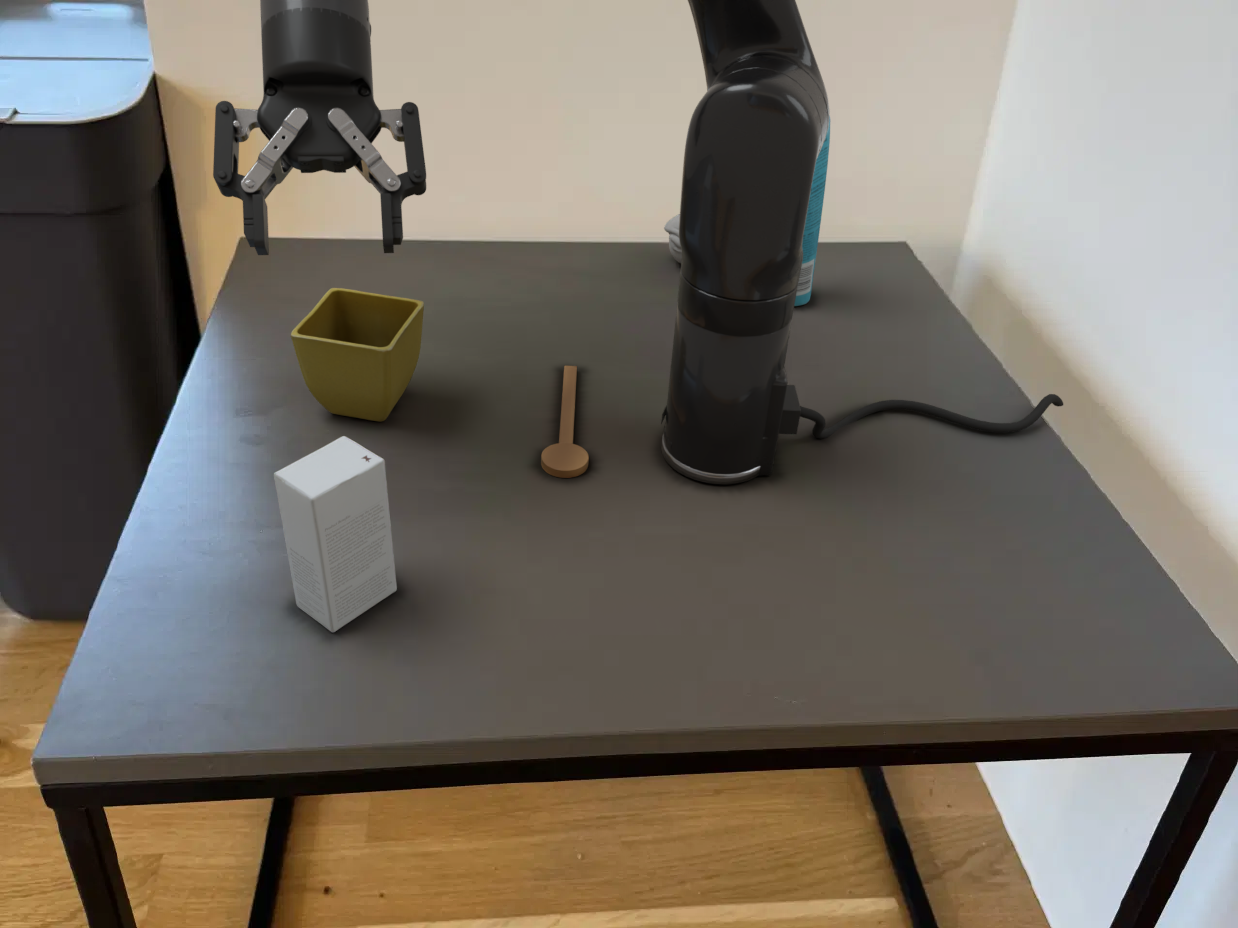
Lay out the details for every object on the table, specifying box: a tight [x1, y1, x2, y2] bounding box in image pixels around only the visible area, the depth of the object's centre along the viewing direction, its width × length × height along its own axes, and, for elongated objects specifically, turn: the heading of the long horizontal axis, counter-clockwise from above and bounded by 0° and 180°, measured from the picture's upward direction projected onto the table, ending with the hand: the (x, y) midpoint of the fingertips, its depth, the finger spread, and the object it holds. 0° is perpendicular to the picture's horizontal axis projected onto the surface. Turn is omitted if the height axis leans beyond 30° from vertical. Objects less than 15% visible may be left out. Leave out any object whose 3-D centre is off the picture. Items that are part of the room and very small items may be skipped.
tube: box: [794, 114, 831, 307], centre depth 115 cm, size 7×5×19 cm, turn 152°
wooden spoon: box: [540, 365, 590, 479], centre depth 99 cm, size 4×17×1 cm, turn 0°
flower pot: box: [290, 287, 425, 422], centre depth 96 cm, size 9×9×9 cm
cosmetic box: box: [273, 435, 398, 633], centre depth 75 cm, size 6×4×12 cm
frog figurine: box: [663, 213, 682, 264], centre depth 124 cm, size 6×7×7 cm
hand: (326, 251), depth 76 cm, fingers open, 8 cm apart
